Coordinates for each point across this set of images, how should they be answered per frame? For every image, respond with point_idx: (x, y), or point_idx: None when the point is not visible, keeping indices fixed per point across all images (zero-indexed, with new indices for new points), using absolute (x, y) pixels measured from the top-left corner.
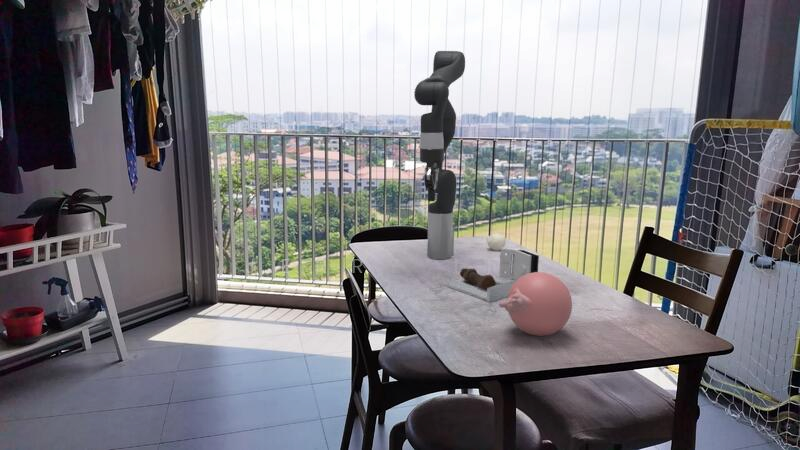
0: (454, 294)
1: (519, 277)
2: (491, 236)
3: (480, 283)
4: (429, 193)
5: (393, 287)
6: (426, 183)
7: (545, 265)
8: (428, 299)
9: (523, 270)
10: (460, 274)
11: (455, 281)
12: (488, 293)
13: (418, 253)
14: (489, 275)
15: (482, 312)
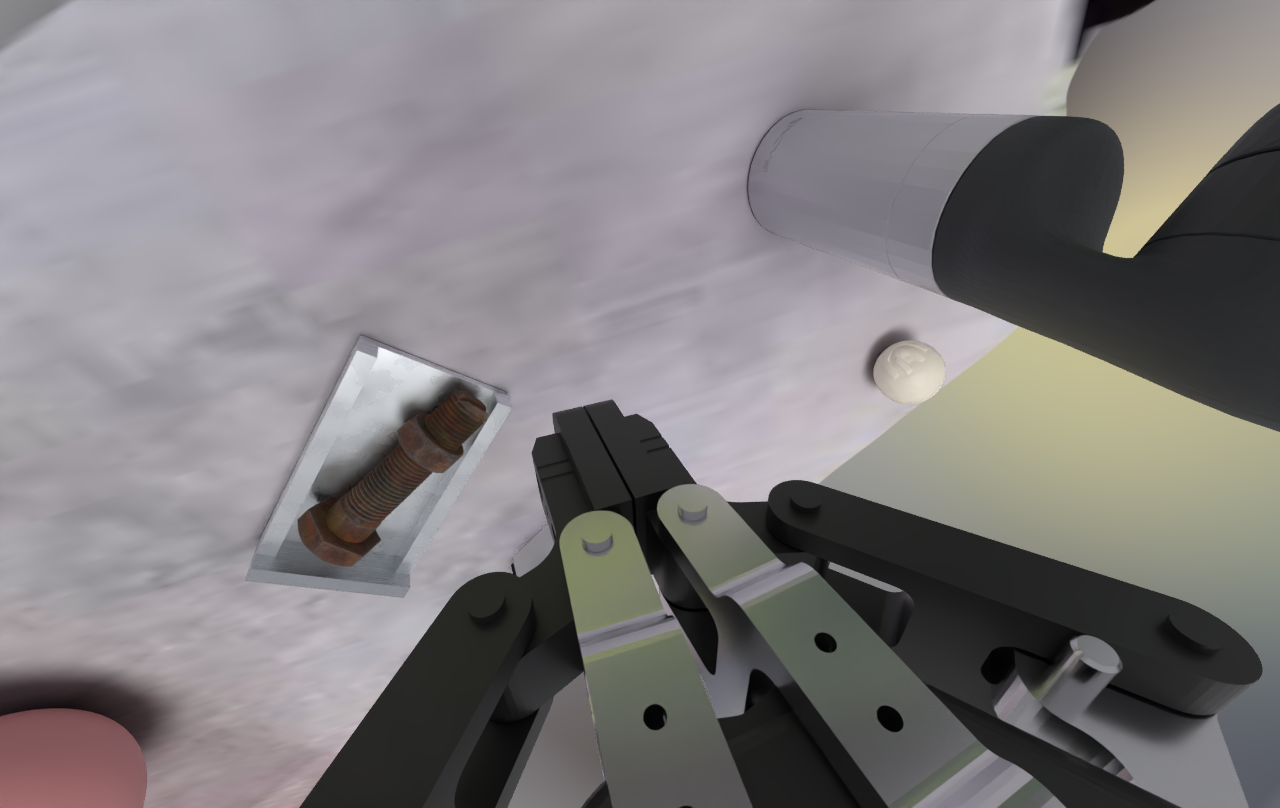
0: (258, 412)
1: (547, 539)
2: (922, 367)
3: (298, 530)
4: (547, 506)
5: (112, 64)
6: (347, 768)
7: None
8: (72, 339)
9: None
10: (454, 391)
11: (327, 411)
12: (253, 558)
13: (841, 42)
14: (347, 560)
15: (108, 564)
